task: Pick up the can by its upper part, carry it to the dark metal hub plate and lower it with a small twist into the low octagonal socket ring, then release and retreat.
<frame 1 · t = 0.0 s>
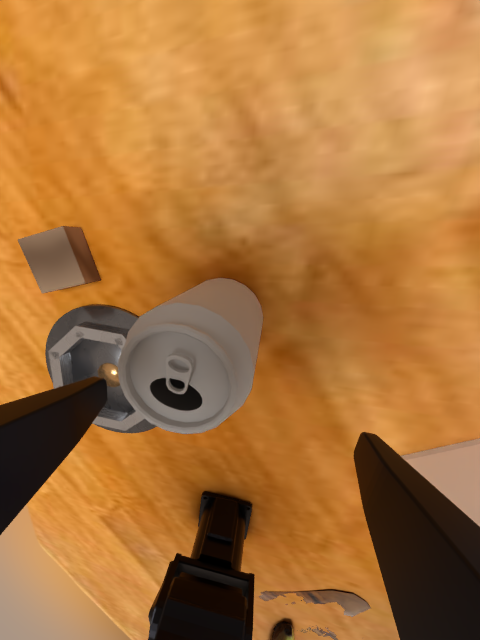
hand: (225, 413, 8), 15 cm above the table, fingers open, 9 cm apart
walnut block: (69, 260, 23), on the table
hub: (113, 373, 27), on the table
can: (225, 315, 23), on the table
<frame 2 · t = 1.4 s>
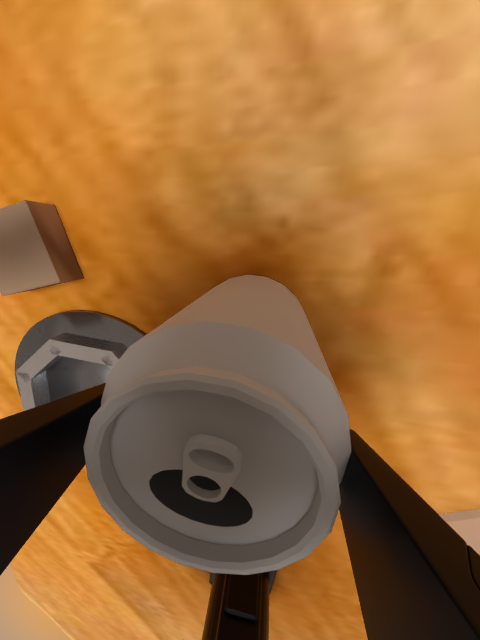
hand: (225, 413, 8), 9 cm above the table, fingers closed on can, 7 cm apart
walnut block: (41, 250, 17), on the table
hub: (102, 398, 21), on the table
can: (251, 325, 17), on the table, touching gripper
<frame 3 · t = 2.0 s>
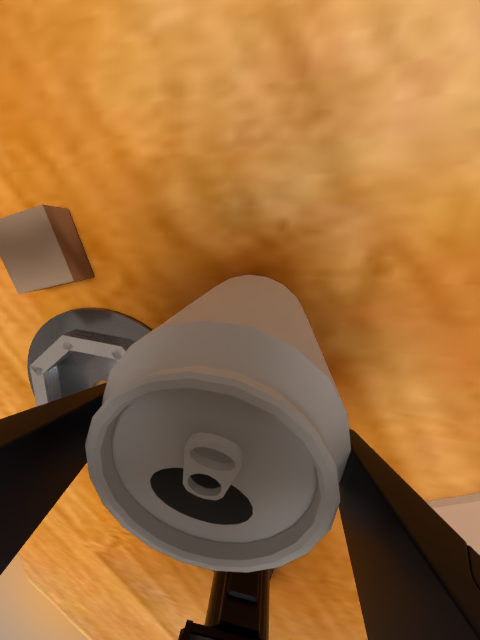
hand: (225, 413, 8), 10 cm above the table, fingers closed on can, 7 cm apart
walnut block: (55, 251, 18), on the table
hub: (110, 391, 22), on the table
can: (251, 325, 17), point 1 cm above the table, touching gripper
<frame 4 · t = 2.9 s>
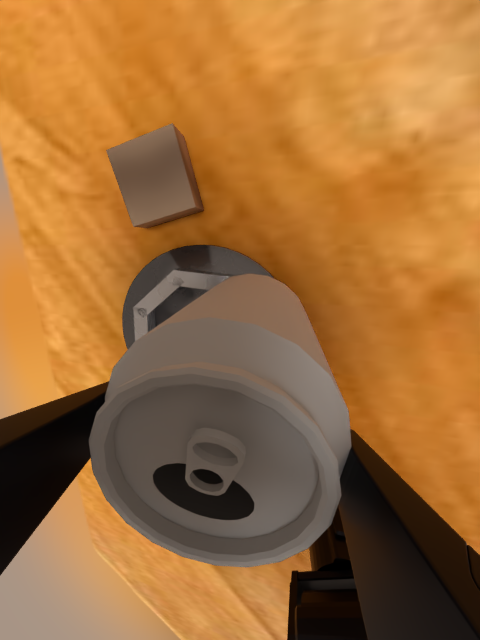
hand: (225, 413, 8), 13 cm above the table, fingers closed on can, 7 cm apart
walnut block: (164, 185, 18), on the table
hub: (206, 336, 22), on the table
can: (252, 324, 17), point 3 cm above the table, touching gripper
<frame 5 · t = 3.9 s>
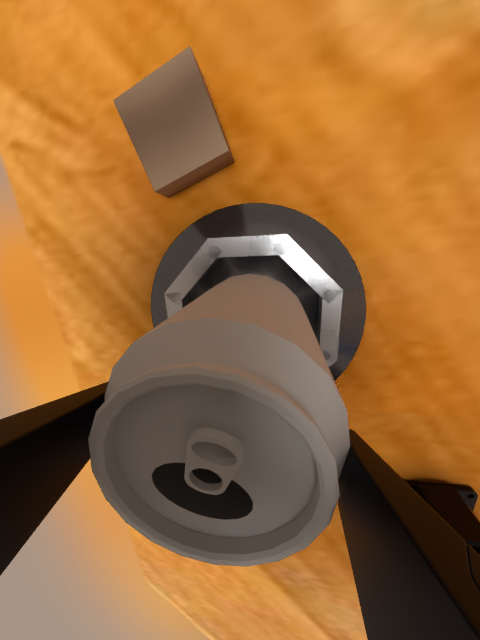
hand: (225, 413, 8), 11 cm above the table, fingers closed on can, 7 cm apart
walnut block: (183, 140, 15), on the table
hub: (252, 318, 18), on the table
can: (252, 324, 17), point 1 cm above the table, touching gripper
when the fingers open (10 cm above the table, at t = 4.5 s): can stays where it is, resting on hub.
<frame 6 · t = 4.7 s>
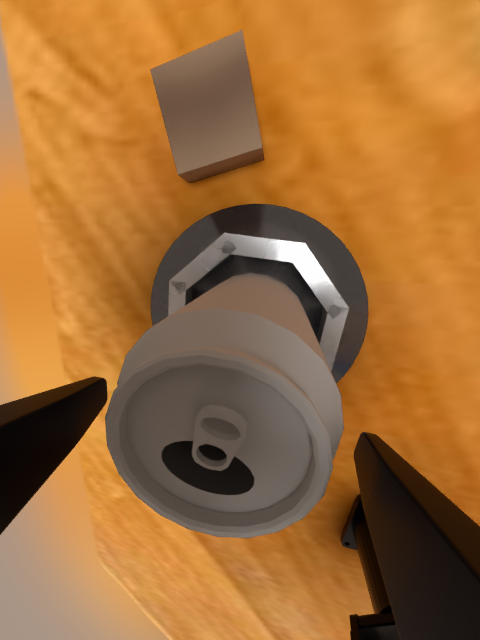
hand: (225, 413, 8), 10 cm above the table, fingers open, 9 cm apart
walnut block: (216, 126, 14), on the table
hub: (253, 320, 18), on the table
can: (253, 322, 18), resting on hub
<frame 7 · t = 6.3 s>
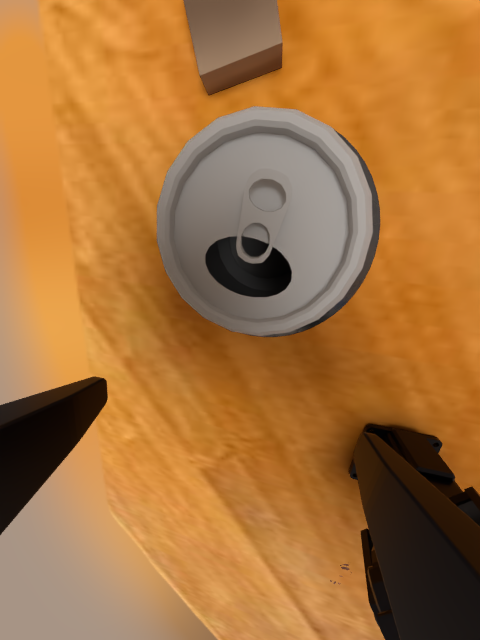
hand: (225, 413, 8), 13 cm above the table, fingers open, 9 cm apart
walnut block: (235, 34, 15), on the table
hub: (267, 240, 18), on the table
can: (267, 240, 18), resting on hub
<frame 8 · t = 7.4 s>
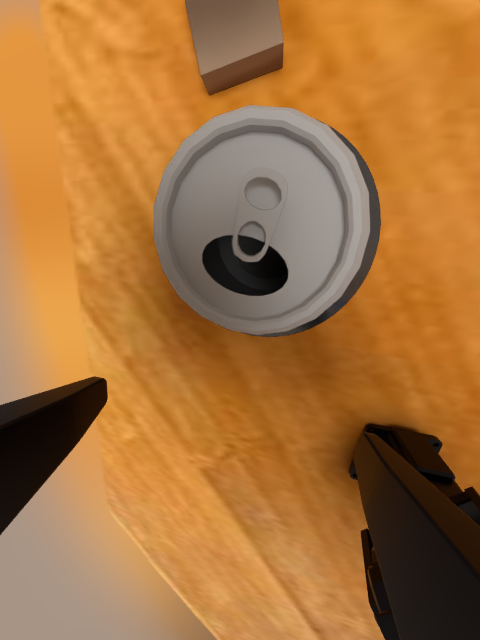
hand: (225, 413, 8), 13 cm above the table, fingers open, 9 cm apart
walnut block: (236, 34, 15), on the table
hub: (267, 239, 19), on the table
can: (268, 239, 18), resting on hub
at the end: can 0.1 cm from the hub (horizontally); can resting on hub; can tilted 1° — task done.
